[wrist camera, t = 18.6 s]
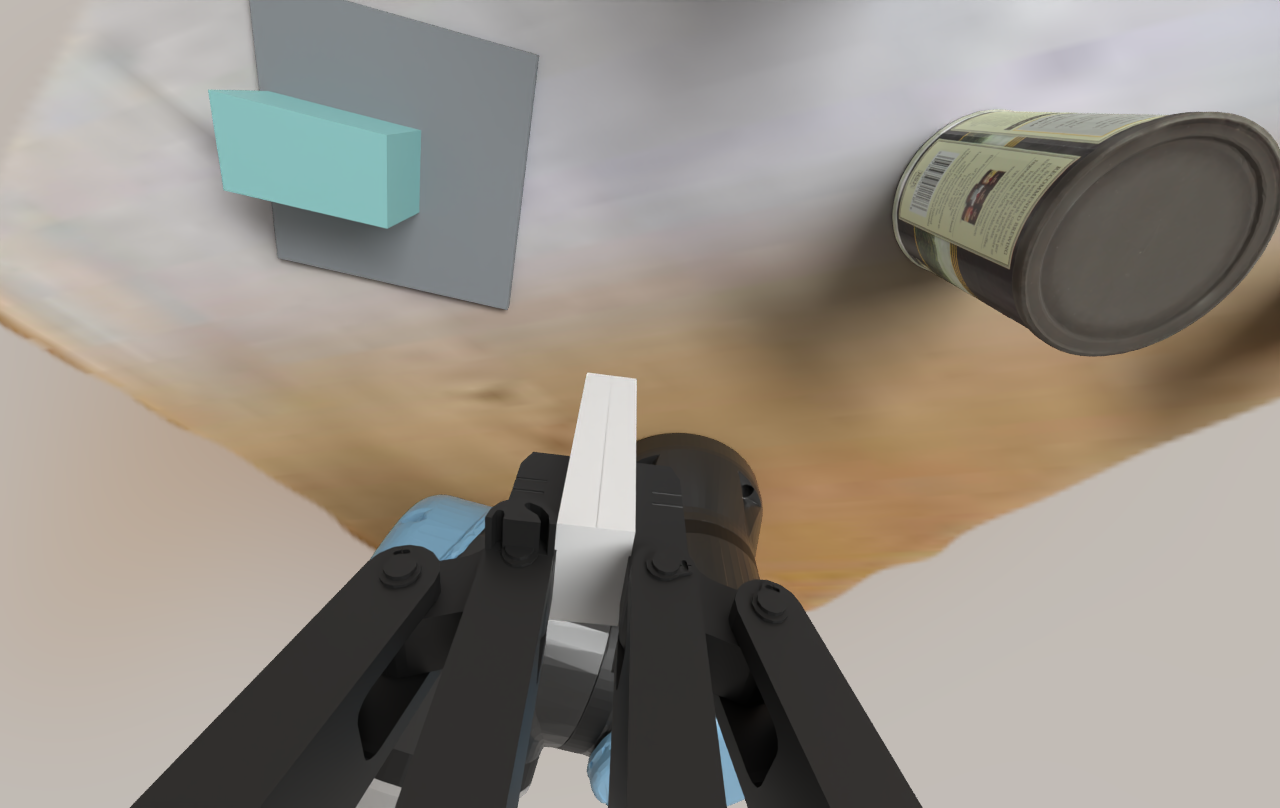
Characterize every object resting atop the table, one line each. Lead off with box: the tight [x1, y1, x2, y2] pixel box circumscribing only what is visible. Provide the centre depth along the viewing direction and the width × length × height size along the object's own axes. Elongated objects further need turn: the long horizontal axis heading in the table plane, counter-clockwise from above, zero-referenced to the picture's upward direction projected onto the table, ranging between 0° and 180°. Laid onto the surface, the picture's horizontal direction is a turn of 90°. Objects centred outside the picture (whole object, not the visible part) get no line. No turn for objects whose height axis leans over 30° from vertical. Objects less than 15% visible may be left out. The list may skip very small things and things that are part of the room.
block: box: [208, 90, 421, 229], centre depth 31 cm, size 5×5×9 cm
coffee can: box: [892, 110, 1280, 356], centre depth 28 cm, size 10×10×14 cm
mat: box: [249, 0, 539, 310], centre depth 34 cm, size 16×16×1 cm
